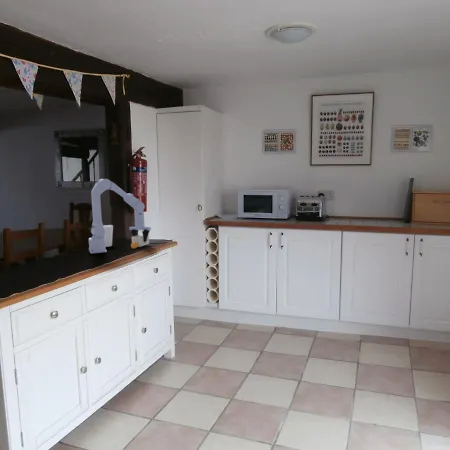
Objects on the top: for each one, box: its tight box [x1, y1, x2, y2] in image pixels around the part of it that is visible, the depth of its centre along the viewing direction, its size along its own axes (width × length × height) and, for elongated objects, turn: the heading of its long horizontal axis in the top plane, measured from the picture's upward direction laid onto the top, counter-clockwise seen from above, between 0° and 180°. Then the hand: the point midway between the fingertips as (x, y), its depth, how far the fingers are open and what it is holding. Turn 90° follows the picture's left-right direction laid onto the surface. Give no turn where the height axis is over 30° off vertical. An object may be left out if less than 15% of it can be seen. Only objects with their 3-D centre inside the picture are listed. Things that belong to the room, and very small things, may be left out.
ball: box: [130, 242, 138, 250], centre depth 257 cm, size 4×4×4 cm
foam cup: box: [103, 224, 114, 248], centre depth 271 cm, size 10×9×13 cm
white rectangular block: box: [131, 233, 150, 248], centre depth 264 cm, size 11×6×6 cm, turn 159°
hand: (140, 241), depth 264 cm, fingers closed on white rectangular block, 6 cm apart
